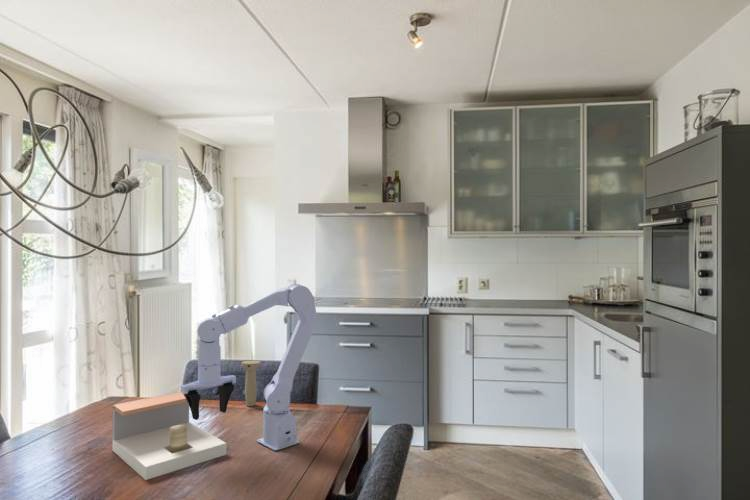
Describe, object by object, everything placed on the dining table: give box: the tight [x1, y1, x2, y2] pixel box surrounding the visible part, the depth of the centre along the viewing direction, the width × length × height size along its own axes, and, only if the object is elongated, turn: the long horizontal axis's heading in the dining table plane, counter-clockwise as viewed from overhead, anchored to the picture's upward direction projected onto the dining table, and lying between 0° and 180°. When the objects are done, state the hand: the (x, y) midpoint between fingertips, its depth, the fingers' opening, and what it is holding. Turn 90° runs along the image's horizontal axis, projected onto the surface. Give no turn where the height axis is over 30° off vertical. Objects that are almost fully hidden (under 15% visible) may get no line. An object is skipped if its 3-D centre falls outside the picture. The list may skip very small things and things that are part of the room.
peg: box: [170, 425, 187, 453], centre depth 120 cm, size 4×4×8 cm
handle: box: [240, 360, 262, 407], centre depth 164 cm, size 5×6×15 cm
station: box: [111, 390, 227, 481], centre depth 124 cm, size 24×20×12 cm
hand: (209, 415), depth 126 cm, fingers open, 7 cm apart
